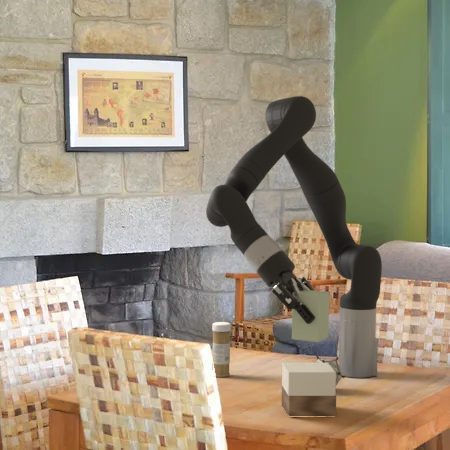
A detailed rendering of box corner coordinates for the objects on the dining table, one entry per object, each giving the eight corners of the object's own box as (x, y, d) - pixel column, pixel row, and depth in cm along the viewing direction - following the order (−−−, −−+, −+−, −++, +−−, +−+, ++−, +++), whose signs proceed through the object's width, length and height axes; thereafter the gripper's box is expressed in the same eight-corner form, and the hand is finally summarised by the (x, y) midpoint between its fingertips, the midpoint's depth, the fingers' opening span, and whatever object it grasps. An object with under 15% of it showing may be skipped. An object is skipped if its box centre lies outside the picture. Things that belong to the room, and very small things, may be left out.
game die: (331, 404, 229) (356, 371, 230) (324, 399, 221) (350, 364, 222) (302, 382, 233) (327, 349, 233) (294, 376, 225) (319, 342, 226)
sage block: (291, 339, 206) (292, 292, 205) (302, 335, 211) (303, 289, 210) (317, 341, 203) (318, 294, 202) (328, 337, 208) (329, 291, 207)
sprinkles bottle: (222, 373, 245) (222, 320, 244) (233, 376, 241) (234, 323, 241) (207, 375, 242) (208, 322, 241) (219, 378, 238) (220, 324, 238)
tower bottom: (326, 407, 213) (326, 384, 213) (335, 418, 203) (336, 395, 203) (281, 407, 212) (281, 385, 212) (289, 419, 202) (289, 395, 202)
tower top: (326, 385, 213) (327, 362, 212) (335, 395, 203) (335, 372, 202) (282, 385, 212) (282, 362, 212) (288, 395, 202) (288, 372, 202)
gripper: (266, 251, 203) (316, 312, 198) (293, 247, 216) (342, 304, 211) (243, 274, 206) (292, 335, 201) (271, 269, 218) (319, 325, 214)
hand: (317, 319), depth 206 cm, fingers closed on sage block, 6 cm apart
